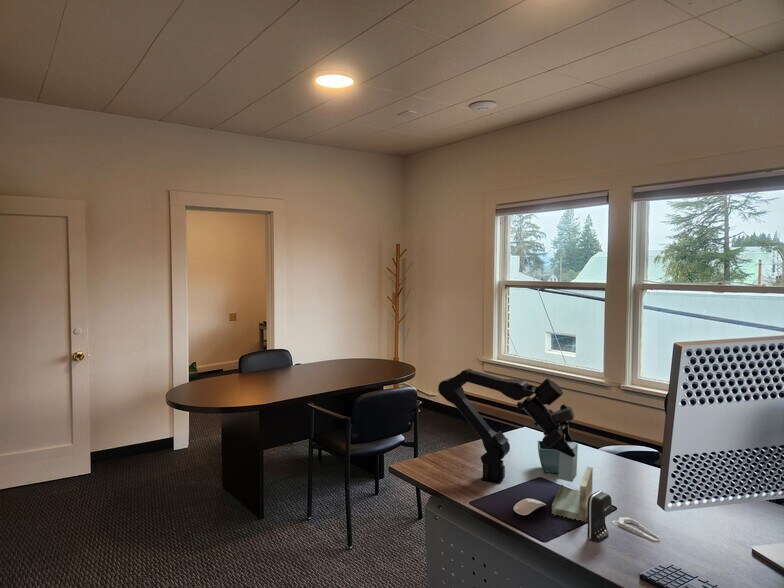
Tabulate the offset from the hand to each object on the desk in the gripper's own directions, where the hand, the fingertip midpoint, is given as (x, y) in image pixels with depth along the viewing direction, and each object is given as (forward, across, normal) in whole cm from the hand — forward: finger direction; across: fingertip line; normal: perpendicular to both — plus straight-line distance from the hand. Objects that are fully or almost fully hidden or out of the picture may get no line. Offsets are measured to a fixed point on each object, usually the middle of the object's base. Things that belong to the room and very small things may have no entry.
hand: (575, 452), depth 157 cm
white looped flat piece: (+23, -15, -3) cm, 27 cm away
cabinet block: (+4, 0, +7) cm, 8 cm away
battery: (+16, -24, +3) cm, 29 cm away
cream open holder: (+10, -9, +9) cm, 16 cm away
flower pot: (+3, +18, +17) cm, 24 cm away
